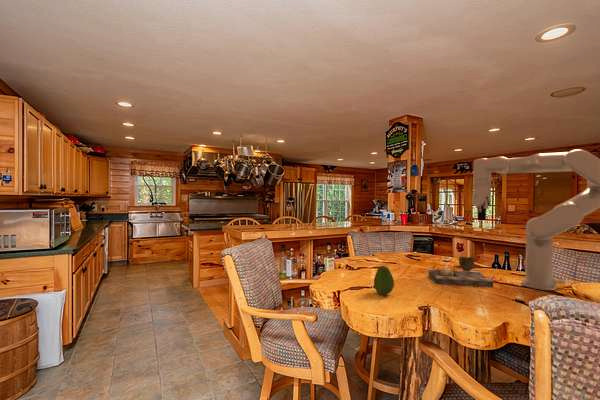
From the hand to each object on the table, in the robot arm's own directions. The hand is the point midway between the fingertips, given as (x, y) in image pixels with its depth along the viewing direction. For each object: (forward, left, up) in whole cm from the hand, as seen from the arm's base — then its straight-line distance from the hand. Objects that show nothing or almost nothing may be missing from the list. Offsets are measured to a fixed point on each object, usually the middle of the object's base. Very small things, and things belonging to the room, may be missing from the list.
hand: (481, 220), depth 145 cm
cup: (+3, -10, -29) cm, 31 cm away
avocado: (+51, +35, -29) cm, 68 cm away
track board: (+13, +8, -29) cm, 33 cm away
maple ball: (+18, +8, -26) cm, 33 cm away
